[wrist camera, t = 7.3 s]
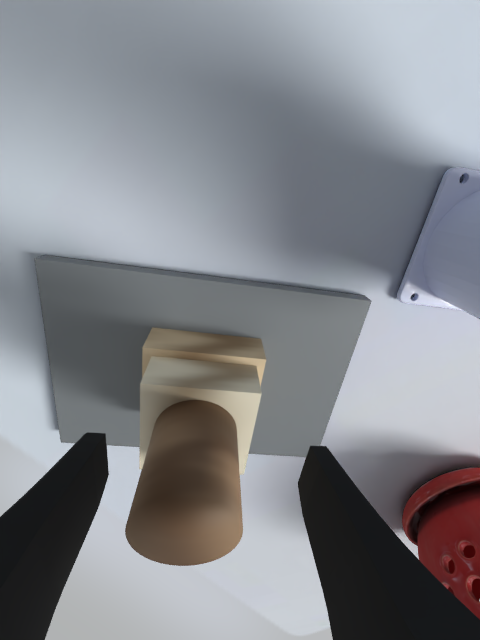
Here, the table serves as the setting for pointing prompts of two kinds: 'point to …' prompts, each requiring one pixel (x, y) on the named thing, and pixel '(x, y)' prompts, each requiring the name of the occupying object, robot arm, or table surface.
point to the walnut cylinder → (188, 487)
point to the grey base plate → (196, 316)
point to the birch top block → (200, 395)
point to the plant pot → (449, 532)
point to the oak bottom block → (204, 348)
